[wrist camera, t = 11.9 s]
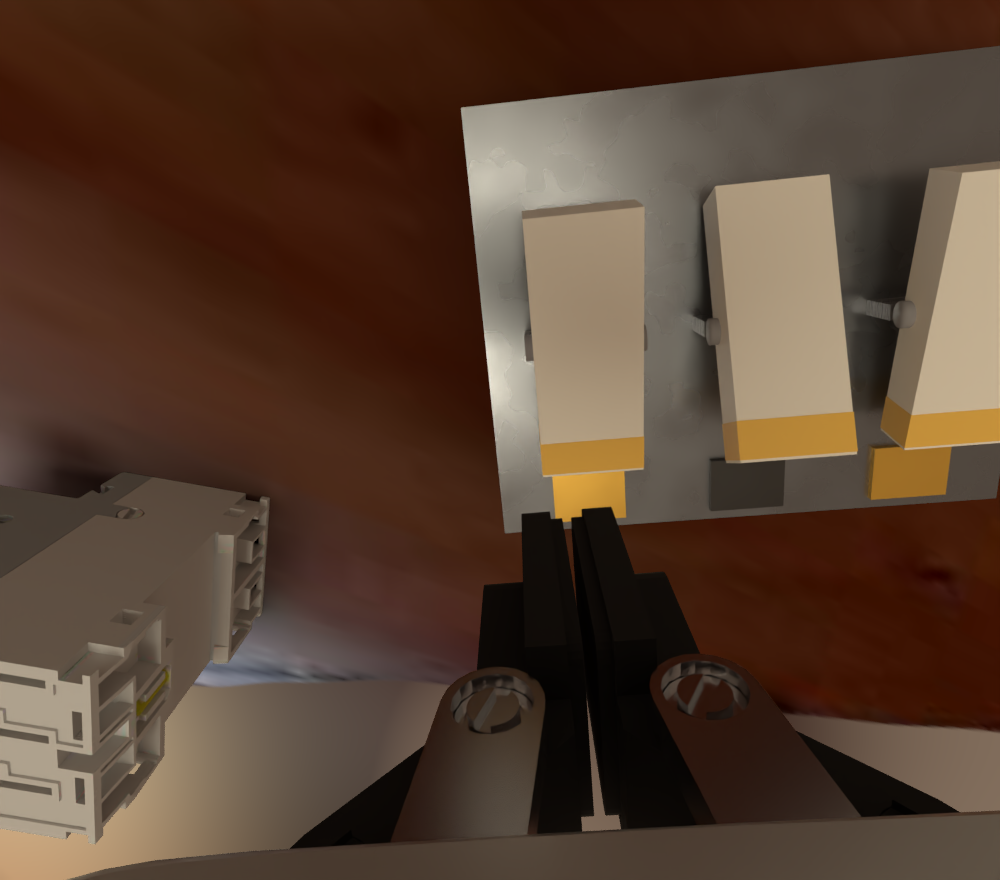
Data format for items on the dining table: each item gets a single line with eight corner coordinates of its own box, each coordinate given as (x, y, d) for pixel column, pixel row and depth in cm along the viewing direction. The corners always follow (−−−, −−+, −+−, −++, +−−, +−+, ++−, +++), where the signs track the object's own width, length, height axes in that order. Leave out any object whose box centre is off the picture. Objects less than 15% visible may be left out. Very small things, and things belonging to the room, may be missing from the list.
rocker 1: (513, 211, 23) (513, 220, 21) (643, 197, 23) (654, 205, 21) (534, 454, 27) (535, 478, 26) (642, 446, 27) (651, 469, 26)
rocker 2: (694, 207, 25) (706, 186, 23) (815, 195, 25) (838, 173, 23) (717, 463, 25) (732, 463, 23) (840, 454, 24) (866, 453, 22)
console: (471, 127, 29) (456, 98, 23) (973, 71, 28) (1109, 22, 21) (507, 491, 35) (503, 551, 28) (928, 459, 33) (1025, 515, 27)
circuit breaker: (11, 452, 35) (-340, 603, 21) (270, 497, 35) (98, 677, 21) (20, 571, 37) (-291, 780, 23) (262, 613, 38) (102, 845, 23)
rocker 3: (918, 169, 22) (952, 173, 20) (1059, 154, 22) (1106, 158, 20) (871, 429, 27) (896, 451, 25) (987, 419, 26) (1020, 441, 25)
